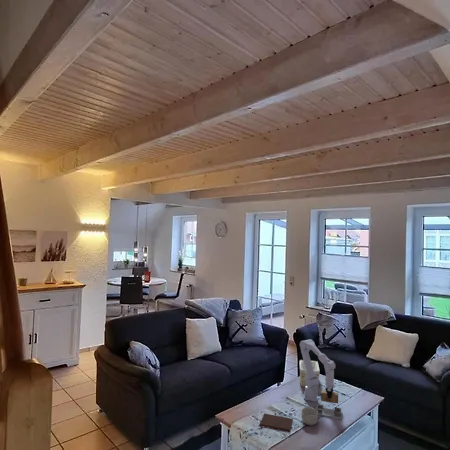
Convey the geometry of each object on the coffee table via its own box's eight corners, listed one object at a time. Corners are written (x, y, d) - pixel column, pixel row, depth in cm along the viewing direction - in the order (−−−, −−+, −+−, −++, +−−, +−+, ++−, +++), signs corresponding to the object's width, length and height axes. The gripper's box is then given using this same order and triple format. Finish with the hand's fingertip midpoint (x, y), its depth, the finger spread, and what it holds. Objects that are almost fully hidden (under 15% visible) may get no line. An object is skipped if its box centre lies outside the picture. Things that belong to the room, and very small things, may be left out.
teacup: (314, 429, 226) (315, 416, 226) (298, 424, 231) (299, 412, 232) (321, 419, 237) (321, 407, 238) (305, 415, 243) (305, 403, 243)
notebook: (264, 415, 242) (264, 412, 242) (292, 420, 236) (292, 417, 236) (259, 426, 228) (259, 423, 228) (289, 432, 222) (289, 429, 222)
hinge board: (314, 414, 244) (314, 409, 244) (316, 407, 253) (316, 402, 254) (341, 419, 238) (341, 414, 238) (342, 412, 247) (342, 407, 247)
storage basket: (299, 375, 311) (299, 359, 311) (317, 377, 307) (317, 360, 308) (299, 387, 287) (299, 369, 287) (319, 389, 284) (320, 371, 284)
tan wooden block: (320, 400, 253) (320, 392, 253) (321, 398, 257) (321, 390, 257) (338, 403, 249) (338, 395, 249) (338, 401, 253) (338, 392, 253)
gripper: (335, 383, 245) (334, 402, 245) (335, 375, 259) (335, 393, 258) (324, 381, 247) (324, 400, 247) (325, 373, 261) (325, 392, 261)
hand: (329, 397), depth 253 cm, fingers closed on tan wooden block, 4 cm apart
